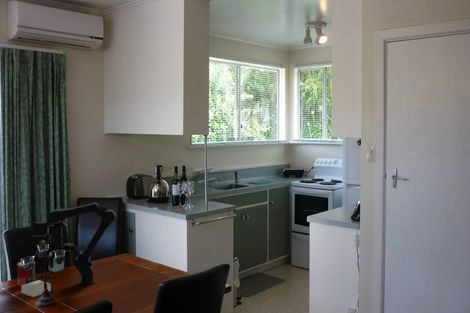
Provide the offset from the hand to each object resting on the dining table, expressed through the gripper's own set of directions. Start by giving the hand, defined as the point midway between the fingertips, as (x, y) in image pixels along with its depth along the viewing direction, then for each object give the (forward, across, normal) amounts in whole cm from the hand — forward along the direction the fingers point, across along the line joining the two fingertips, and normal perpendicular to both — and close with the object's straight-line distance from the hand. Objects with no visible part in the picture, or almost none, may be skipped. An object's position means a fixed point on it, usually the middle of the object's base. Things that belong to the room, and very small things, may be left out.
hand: (56, 267), depth 224 cm
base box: (+9, +11, +1) cm, 15 cm away
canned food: (+9, +8, -12) cm, 18 cm away
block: (+1, 0, 0) cm, 1 cm away
